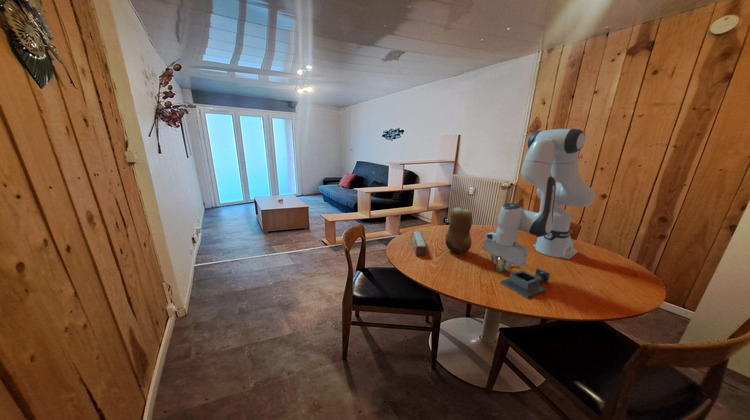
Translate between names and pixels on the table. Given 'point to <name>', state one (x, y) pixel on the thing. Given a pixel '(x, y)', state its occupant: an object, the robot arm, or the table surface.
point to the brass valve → (500, 265)
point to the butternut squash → (459, 231)
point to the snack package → (419, 244)
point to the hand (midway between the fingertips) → (501, 266)
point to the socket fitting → (527, 282)
